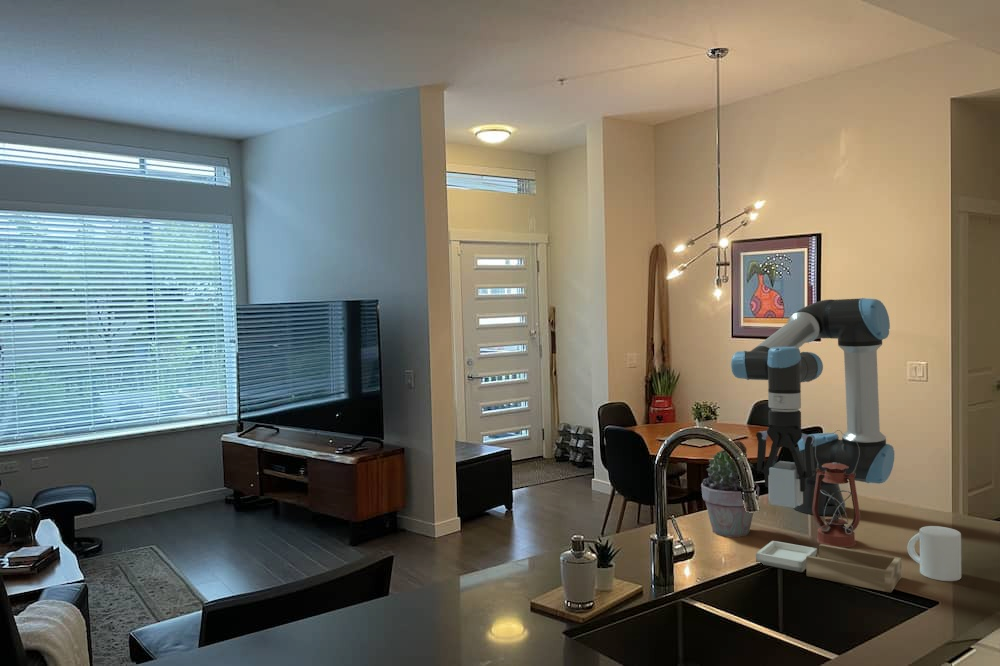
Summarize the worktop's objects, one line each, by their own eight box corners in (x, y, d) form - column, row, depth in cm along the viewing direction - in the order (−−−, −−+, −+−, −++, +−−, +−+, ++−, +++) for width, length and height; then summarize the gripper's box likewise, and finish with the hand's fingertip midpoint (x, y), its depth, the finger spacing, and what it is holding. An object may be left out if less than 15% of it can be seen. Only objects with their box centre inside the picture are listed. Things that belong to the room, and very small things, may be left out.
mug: (945, 538, 165) (897, 525, 176) (946, 584, 165) (897, 567, 176) (969, 532, 169) (919, 519, 179) (969, 577, 169) (920, 561, 180)
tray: (772, 550, 191) (772, 540, 191) (817, 558, 184) (816, 548, 184) (756, 563, 182) (755, 553, 182) (802, 572, 175) (802, 561, 175)
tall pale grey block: (777, 498, 187) (777, 459, 186) (802, 502, 183) (801, 462, 183) (769, 504, 182) (769, 464, 182) (794, 507, 178) (794, 466, 178)
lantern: (848, 535, 201) (847, 426, 200) (863, 548, 191) (862, 433, 190) (811, 535, 202) (810, 427, 201) (824, 548, 192) (822, 433, 191)
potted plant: (694, 541, 200) (693, 449, 199) (698, 520, 219) (697, 437, 218) (765, 546, 194) (763, 452, 193) (763, 524, 213) (762, 439, 212)
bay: (820, 562, 181) (820, 543, 181) (901, 577, 170) (901, 557, 170) (806, 575, 173) (806, 556, 172) (890, 592, 161) (890, 572, 161)
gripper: (741, 408, 185) (742, 500, 185) (820, 414, 173) (821, 511, 173) (751, 405, 191) (753, 493, 191) (829, 410, 179) (830, 504, 179)
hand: (785, 502), depth 182 cm, fingers closed on tall pale grey block, 6 cm apart
